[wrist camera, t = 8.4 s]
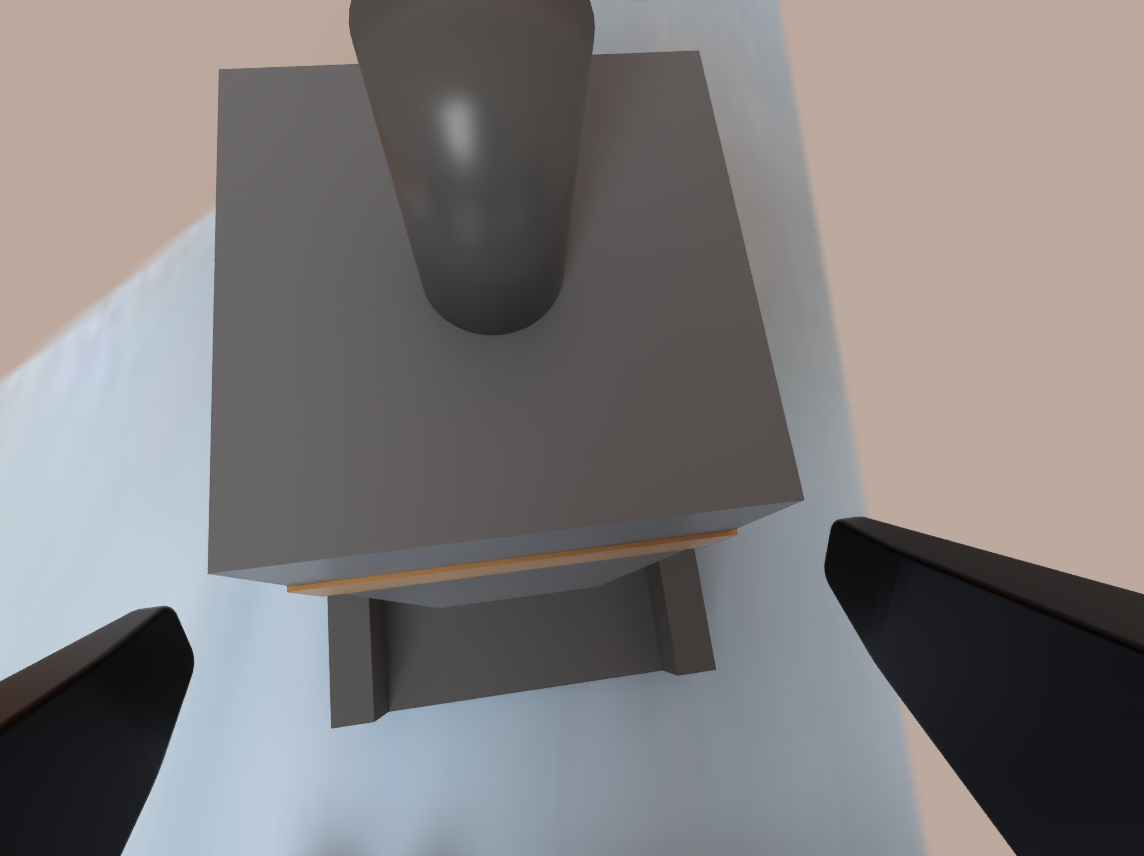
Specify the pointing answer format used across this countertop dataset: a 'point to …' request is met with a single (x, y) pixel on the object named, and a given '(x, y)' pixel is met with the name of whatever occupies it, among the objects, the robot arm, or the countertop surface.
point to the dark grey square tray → (514, 642)
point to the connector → (481, 314)
